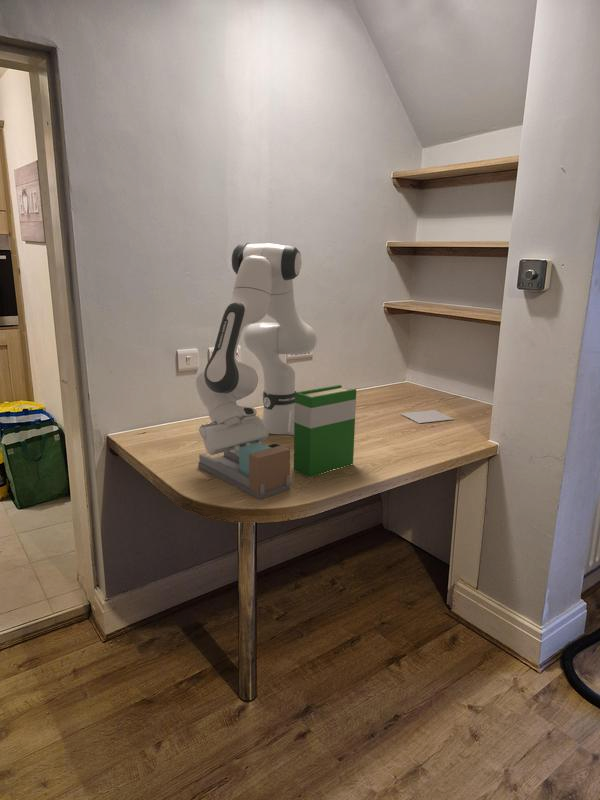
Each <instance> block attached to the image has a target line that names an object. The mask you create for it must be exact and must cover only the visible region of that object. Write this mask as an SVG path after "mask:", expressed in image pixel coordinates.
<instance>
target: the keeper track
mask: <svg viewBox="0 0 600 800" xmlns="http://www.w3.org/2000/svg"><path fill="white" fill-rule="evenodd" d="M286 447H287V446H283V445H280V446H277V447H273V448H269V449H266V450H262V451H258V452H255V453H251V454H249V476H247V475H245V474H243V473H241V472H239V456H237V455H236V454H235V453H234V452H233V450H230V451H226V452H223V455H221V456H218V457H213V458H212V457H211V456H208V455H207V454H204V453H199V454H198V455H199V456H198V457H199V462H197V464H198V465H197V466H198V468H199V469H201V470H203V471H205V472H206V473H208V474H210V475H213V476H214V477H216V478H218V479H220V480H222V481H224V482H225V483H227V484H229V485H232V486H233V487H235V488H237V489H239V490H241V491H243V492H244V493H247V494H248V495H251V496H253V497H254V498H256V499H257V500H263V499H265V498H267V497H271V496H274V495H277V494H279V493H283V492H286V491H289V490H292V484H291V448H290V447H287V448H286ZM289 448H290V449H289Z"/></svg>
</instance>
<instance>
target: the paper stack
mask: <svg viewBox="0 0 600 800" xmlns="http://www.w3.org/2000/svg"><path fill="white" fill-rule="evenodd" d="M399 414H400V415H402V416H404V417H406V418H408V419H409V420H412V421H414V422H416V423H418V424H421V423H430V422H441V421H451V420H454V418H453V417H451V416H449V415H447V414H444V413H442V412H439V411H437V410H435V409H430V410H421V411H413V412H412V411H411V412H400V413H399Z"/></svg>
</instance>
